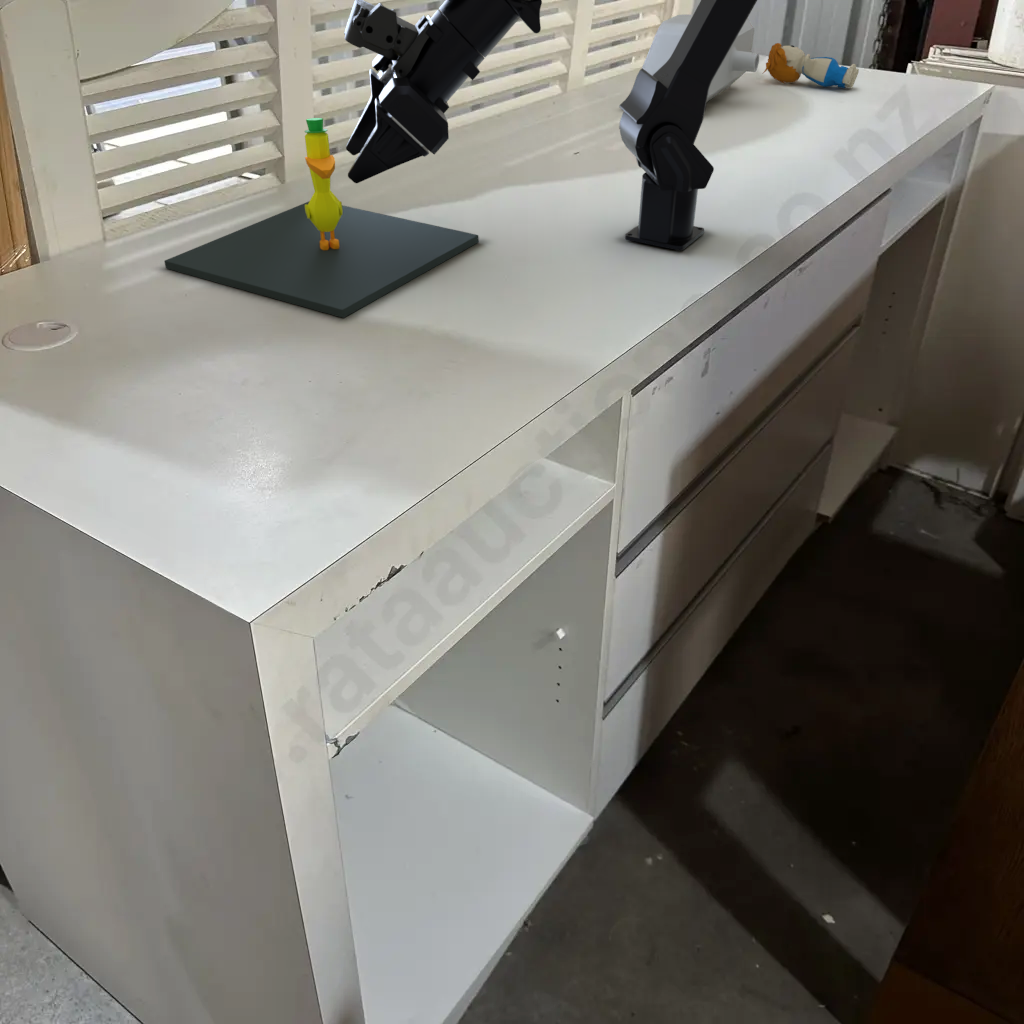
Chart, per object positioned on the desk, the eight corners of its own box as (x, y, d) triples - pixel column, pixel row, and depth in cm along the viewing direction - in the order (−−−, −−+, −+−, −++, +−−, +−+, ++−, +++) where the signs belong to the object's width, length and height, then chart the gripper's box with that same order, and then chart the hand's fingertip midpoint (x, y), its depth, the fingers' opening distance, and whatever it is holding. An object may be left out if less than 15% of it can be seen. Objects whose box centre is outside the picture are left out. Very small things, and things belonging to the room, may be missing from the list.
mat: (343, 318, 83) (342, 309, 83) (165, 268, 92) (163, 260, 92) (478, 242, 99) (478, 234, 98) (314, 206, 108) (314, 198, 107)
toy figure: (353, 256, 93) (341, 128, 86) (316, 261, 92) (301, 131, 85) (341, 233, 98) (328, 110, 91) (306, 237, 97) (290, 113, 90)
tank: (726, 124, 138) (739, 29, 131) (623, 111, 144) (630, 19, 137) (771, 90, 156) (784, 5, 149) (677, 80, 162) (686, -3, 155)
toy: (854, 50, 149) (764, 30, 155) (839, 91, 151) (751, 69, 157) (864, 68, 160) (779, 48, 165) (850, 106, 162) (767, 85, 167)
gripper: (387, -49, 89) (284, 82, 94) (400, -24, 74) (276, 130, 79) (473, 41, 95) (371, 160, 100) (501, 81, 80) (379, 219, 85)
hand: (350, 165), depth 91 cm, fingers open, 9 cm apart
